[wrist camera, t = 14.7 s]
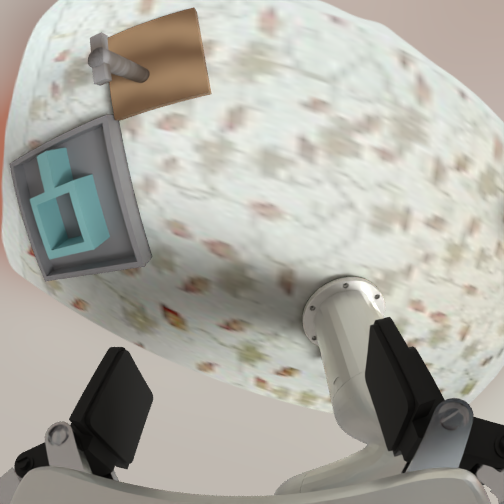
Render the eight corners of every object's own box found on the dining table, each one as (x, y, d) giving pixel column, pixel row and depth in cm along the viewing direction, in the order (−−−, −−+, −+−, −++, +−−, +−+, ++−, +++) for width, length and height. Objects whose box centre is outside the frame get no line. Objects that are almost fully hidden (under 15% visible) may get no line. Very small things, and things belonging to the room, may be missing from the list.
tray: (152, 257, 37) (144, 266, 35) (54, 273, 39) (45, 281, 36) (117, 115, 30) (106, 114, 27) (22, 160, 32) (9, 163, 29)
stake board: (211, 94, 29) (185, 73, 18) (120, 120, 30) (63, 119, 19) (196, 12, 25) (169, -34, 14) (109, 42, 26) (57, 17, 15)
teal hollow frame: (84, 139, 31) (65, 141, 26) (110, 236, 36) (94, 249, 32) (41, 160, 31) (21, 165, 27) (65, 247, 37) (49, 259, 33)
